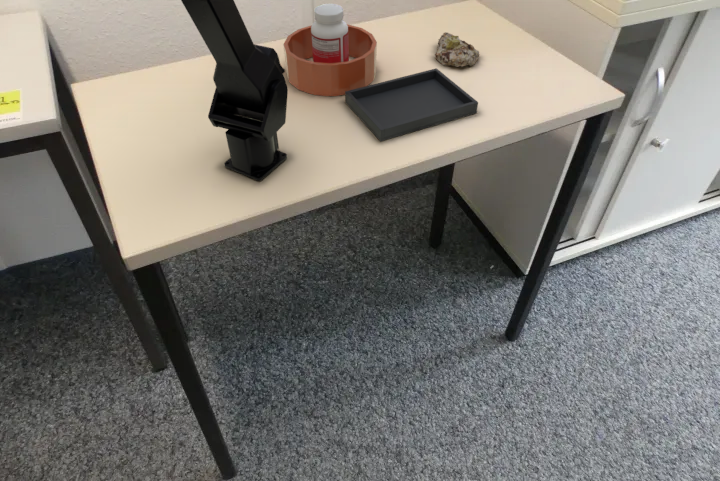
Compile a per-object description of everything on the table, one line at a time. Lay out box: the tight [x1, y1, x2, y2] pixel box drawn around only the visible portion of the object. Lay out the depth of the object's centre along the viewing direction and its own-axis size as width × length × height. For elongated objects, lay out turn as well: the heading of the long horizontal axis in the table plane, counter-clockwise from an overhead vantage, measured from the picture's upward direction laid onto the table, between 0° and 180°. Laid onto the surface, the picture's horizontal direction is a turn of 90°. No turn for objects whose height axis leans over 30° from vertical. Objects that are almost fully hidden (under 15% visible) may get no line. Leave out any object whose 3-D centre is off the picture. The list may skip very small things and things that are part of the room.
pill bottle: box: [310, 3, 350, 63], centre depth 88 cm, size 6×6×11 cm
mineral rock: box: [434, 32, 481, 68], centre depth 96 cm, size 11×4×8 cm
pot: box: [283, 23, 378, 97], centre depth 90 cm, size 15×15×6 cm
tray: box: [344, 68, 479, 142], centre depth 84 cm, size 17×12×2 cm
